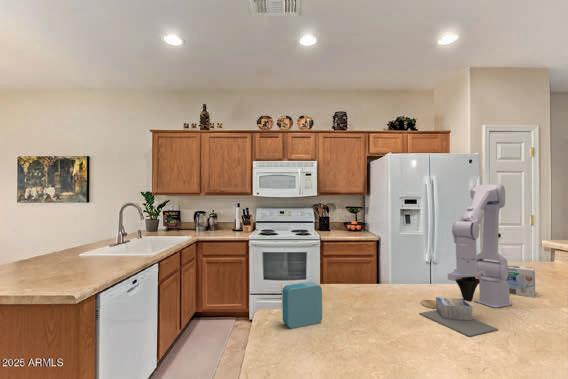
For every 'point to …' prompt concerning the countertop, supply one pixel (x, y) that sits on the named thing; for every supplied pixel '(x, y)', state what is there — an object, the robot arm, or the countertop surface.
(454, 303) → the medicine box
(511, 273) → the light bulb box
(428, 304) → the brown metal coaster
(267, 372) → the countertop surface
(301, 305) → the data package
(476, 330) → the mat
